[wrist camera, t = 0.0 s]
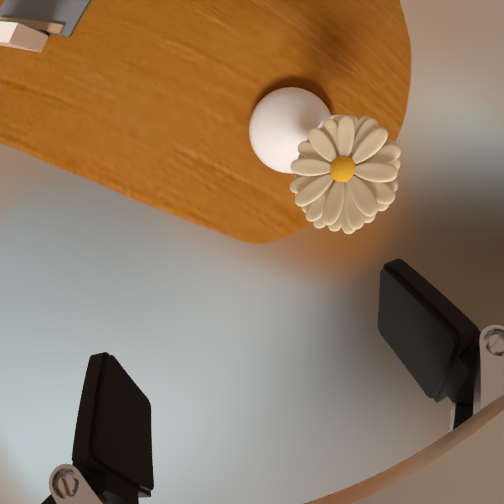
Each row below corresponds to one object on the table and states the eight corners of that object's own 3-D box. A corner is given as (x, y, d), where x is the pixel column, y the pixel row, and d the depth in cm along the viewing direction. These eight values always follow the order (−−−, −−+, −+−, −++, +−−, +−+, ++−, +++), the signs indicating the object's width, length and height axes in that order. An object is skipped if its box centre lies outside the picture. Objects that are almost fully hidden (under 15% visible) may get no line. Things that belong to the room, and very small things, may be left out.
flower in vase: (296, 72, 33) (440, 47, 11) (341, 138, 39) (487, 189, 17) (217, 130, 35) (275, 166, 13) (271, 194, 40) (371, 303, 19)
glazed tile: (6, 28, 20) (-27, 18, 12) (49, 34, 23) (19, 20, 15) (-2, 45, 20) (-36, 38, 13) (41, 52, 24) (8, 42, 16)
